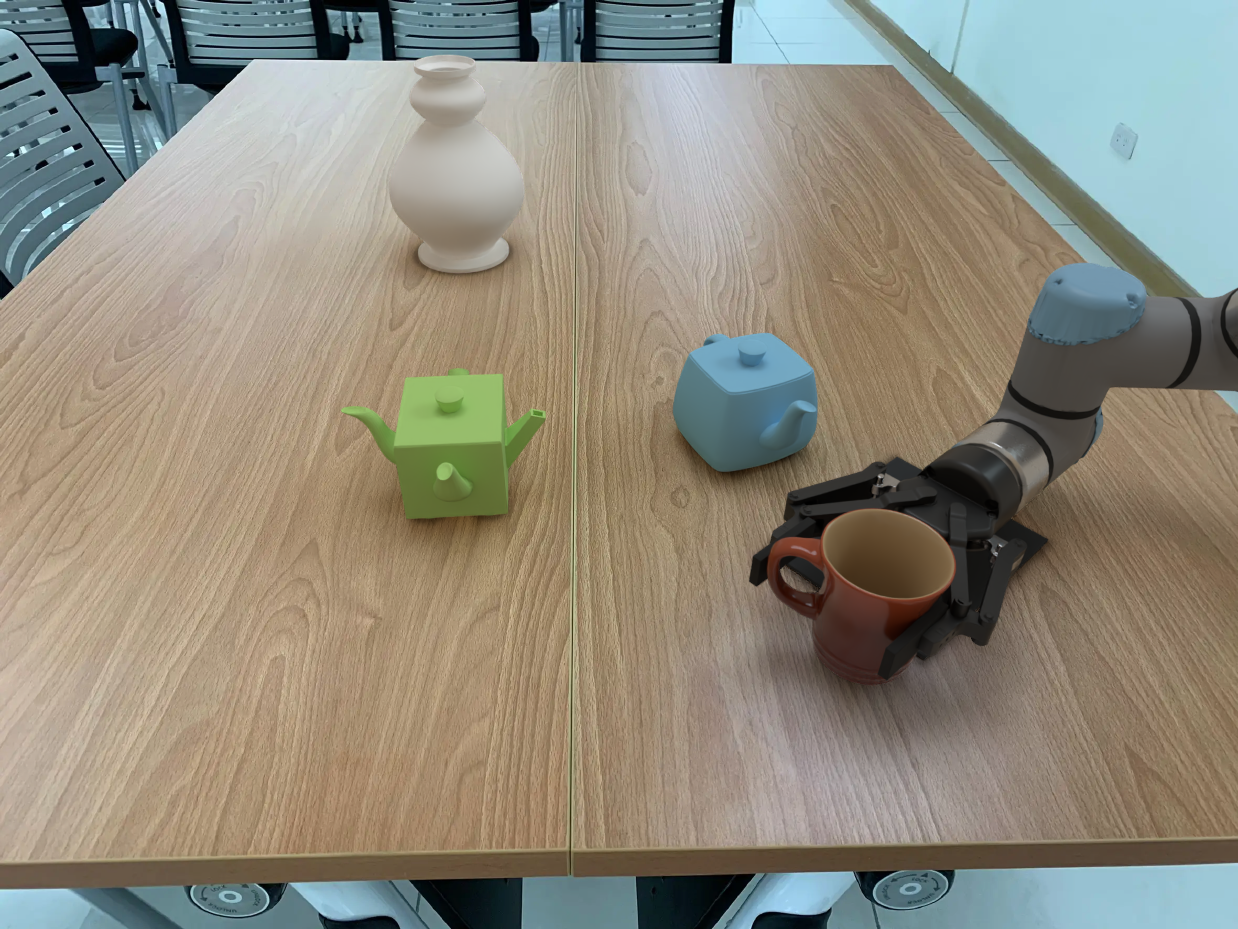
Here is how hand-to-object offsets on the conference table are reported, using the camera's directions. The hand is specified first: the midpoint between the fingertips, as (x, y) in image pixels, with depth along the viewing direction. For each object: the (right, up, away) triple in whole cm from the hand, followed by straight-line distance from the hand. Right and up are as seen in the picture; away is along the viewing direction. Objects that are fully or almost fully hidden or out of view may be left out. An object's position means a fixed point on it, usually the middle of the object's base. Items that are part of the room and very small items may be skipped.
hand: (816, 615), depth 62 cm
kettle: (-30, +8, +22) cm, 38 cm away
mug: (+3, -4, +6) cm, 8 cm away
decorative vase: (-36, +40, +62) cm, 82 cm away
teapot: (-1, +12, +28) cm, 30 cm away
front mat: (+12, +3, +17) cm, 21 cm away
